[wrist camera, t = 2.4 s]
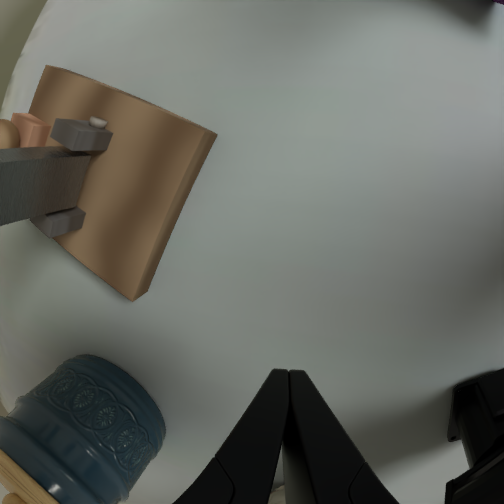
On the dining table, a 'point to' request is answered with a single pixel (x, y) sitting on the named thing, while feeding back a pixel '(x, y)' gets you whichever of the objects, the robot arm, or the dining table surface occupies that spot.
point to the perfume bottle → (499, 1)
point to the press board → (113, 173)
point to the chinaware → (277, 496)
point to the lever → (39, 181)
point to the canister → (79, 436)
